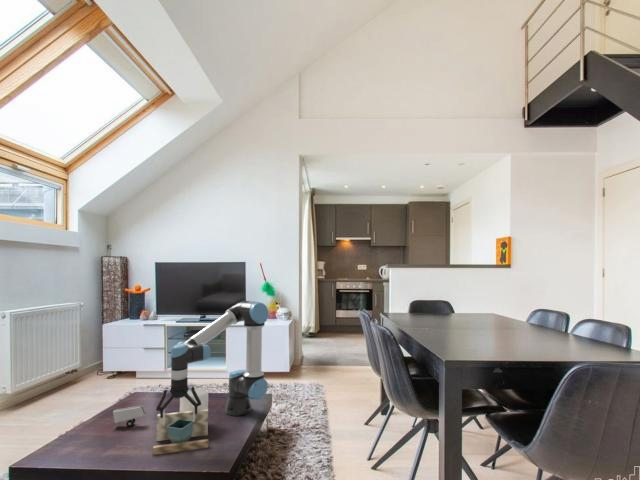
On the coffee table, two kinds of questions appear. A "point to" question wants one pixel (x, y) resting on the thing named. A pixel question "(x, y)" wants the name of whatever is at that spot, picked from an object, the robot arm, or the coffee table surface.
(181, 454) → the coffee table surface
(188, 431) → the flower pot
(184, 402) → the container
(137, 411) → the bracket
